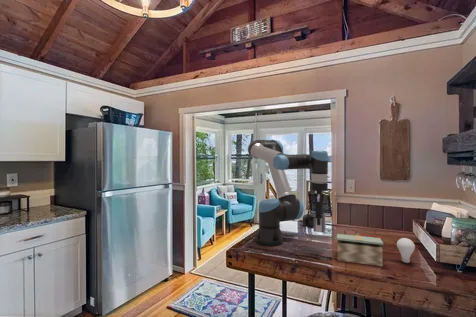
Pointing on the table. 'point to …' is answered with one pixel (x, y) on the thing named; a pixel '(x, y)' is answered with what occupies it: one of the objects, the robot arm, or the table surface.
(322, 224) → the block
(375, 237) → the tape dispenser
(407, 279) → the table surface
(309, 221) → the camera
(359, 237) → the lid
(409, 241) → the light bulb
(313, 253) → the table surface
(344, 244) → the box
